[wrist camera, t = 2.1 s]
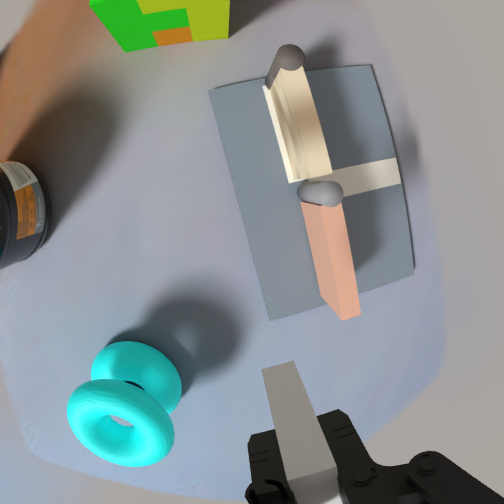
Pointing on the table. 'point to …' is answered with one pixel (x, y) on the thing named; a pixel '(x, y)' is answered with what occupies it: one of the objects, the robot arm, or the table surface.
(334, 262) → the salmon gate panel
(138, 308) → the table surface
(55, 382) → the table surface
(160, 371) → the donuts
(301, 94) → the rail
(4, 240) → the supplement container
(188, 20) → the puzzle toy
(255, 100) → the card
